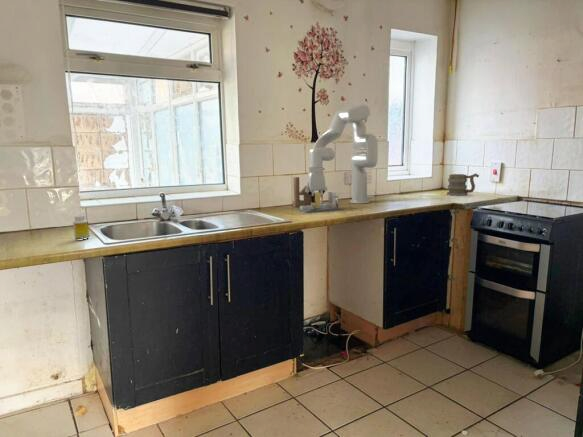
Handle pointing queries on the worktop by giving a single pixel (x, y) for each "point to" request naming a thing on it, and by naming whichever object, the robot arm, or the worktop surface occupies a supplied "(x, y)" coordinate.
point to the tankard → (460, 184)
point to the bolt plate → (319, 209)
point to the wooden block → (297, 193)
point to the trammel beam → (331, 201)
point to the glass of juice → (80, 227)
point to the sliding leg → (317, 200)
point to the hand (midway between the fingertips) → (316, 202)
